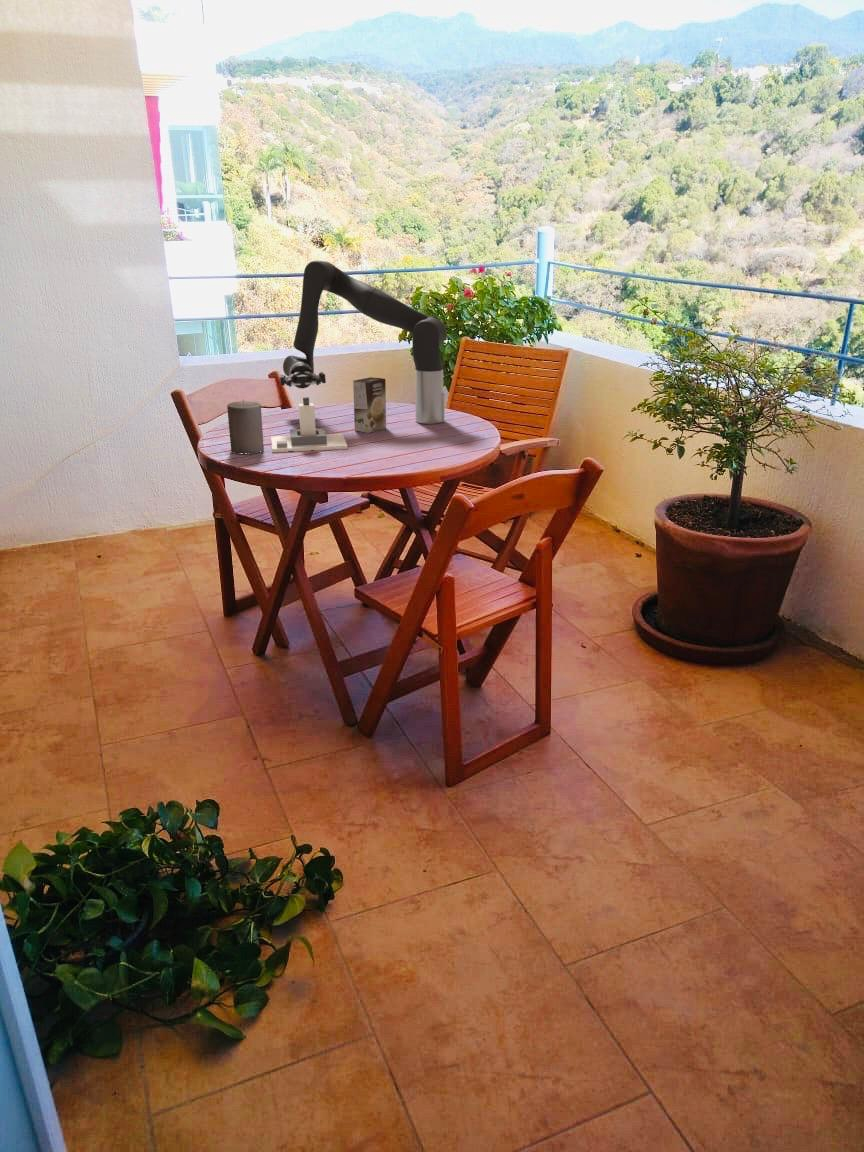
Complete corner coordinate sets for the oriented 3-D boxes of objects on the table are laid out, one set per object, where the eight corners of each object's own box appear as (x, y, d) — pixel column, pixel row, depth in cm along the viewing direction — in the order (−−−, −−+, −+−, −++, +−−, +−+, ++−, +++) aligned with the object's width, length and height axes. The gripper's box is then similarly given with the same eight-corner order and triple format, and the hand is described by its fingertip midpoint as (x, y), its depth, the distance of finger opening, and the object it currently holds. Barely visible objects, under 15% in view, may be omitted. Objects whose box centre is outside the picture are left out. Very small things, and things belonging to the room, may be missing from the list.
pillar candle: (224, 453, 243) (219, 401, 237) (241, 445, 252) (237, 395, 246) (253, 456, 240) (249, 404, 234) (270, 448, 249) (267, 397, 243)
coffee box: (369, 433, 266) (368, 382, 259) (354, 430, 269) (352, 380, 263) (387, 428, 273) (385, 378, 266) (371, 425, 276) (370, 376, 270)
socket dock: (342, 436, 262) (341, 425, 260) (347, 448, 247) (346, 437, 246) (271, 439, 258) (270, 428, 257) (272, 452, 243) (271, 440, 242)
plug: (315, 439, 254) (312, 396, 249) (316, 442, 251) (313, 398, 246) (300, 439, 254) (298, 396, 249) (301, 442, 250) (298, 399, 245)
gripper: (278, 364, 271) (279, 371, 256) (322, 361, 273) (326, 369, 258) (280, 387, 273) (281, 396, 259) (323, 385, 276) (327, 393, 261)
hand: (303, 382), depth 258 cm, fingers open, 8 cm apart
